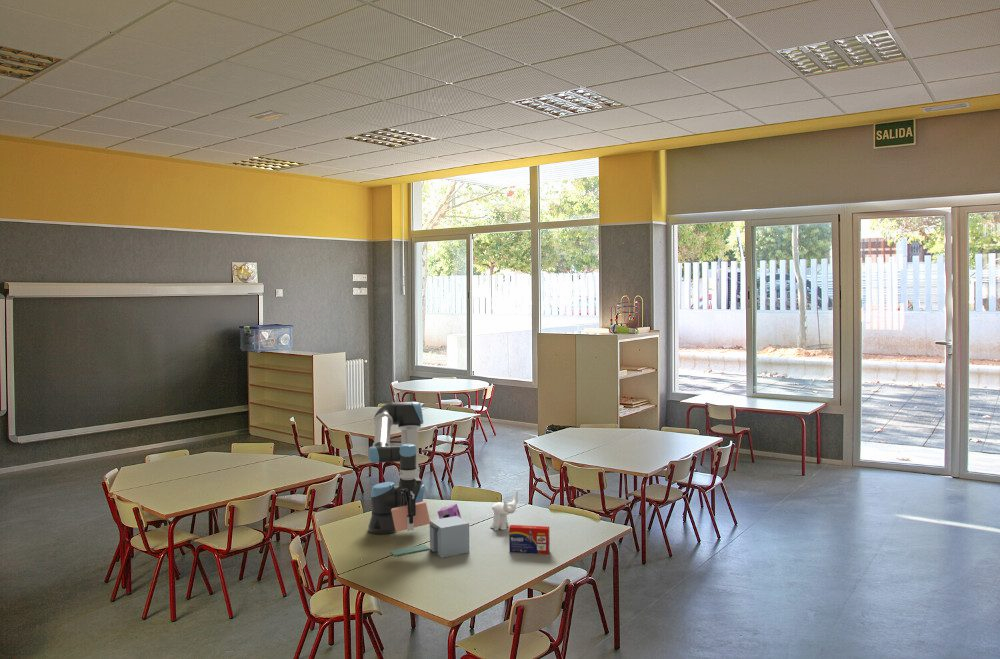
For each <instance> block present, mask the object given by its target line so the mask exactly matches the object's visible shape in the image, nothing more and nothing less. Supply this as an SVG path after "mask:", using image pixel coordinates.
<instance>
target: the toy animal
mask: <svg viewBox="0 0 1000 659" xmlns="http://www.w3.org/2000/svg"><path fill="white" fill-rule="evenodd" d="M518 502H519V495H518V490H516V491H515V493H514V496H513V499H512V501H509V502H507V501H506V500H504V501H503V502H502V501H498V502H495V503H494V504H492V506H491V509H492V511H493V521H492V523H491V525H490V528H491V529H493V530H495V531H499V530H501V531H502V530H503V531H505V529H506V530H507V529H508V528H509V527H510V524H509V522H508V518H507V516H508V515H510V514H514V513H515V512H516V509H517V505H518ZM508 526H509V527H508Z"/></svg>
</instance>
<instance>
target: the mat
mask: <svg viewBox="0 0 1000 659" xmlns="http://www.w3.org/2000/svg"><path fill="white" fill-rule="evenodd" d="M429 550H431V549H430V547H428V546H427V545H426V544H419V545H415V546H410V547H403V548H399V549H394V550H390V551H389V552H390V553H391V554H392V555H393V556H394V557H397V556H398V557H399V556H403V555H408V554H414V553H418V552H419V553H420V552H425V551H429Z"/></svg>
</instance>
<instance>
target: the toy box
mask: <svg viewBox="0 0 1000 659" xmlns="http://www.w3.org/2000/svg"><path fill="white" fill-rule="evenodd" d="M508 529H509V530H508V534H509V538H508V540H509V542H508V543H509V548H508V549H509V551H508V552H509V553H514V554H515V553H517V554H531V553H532V555H533V554H537V555H550V550H551V549H550V548H551V547H550V542H551V541H550V540H551V538H550V526H544V525H543V526H542V525H540V526H539V525H521V524H509V527H508Z"/></svg>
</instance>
